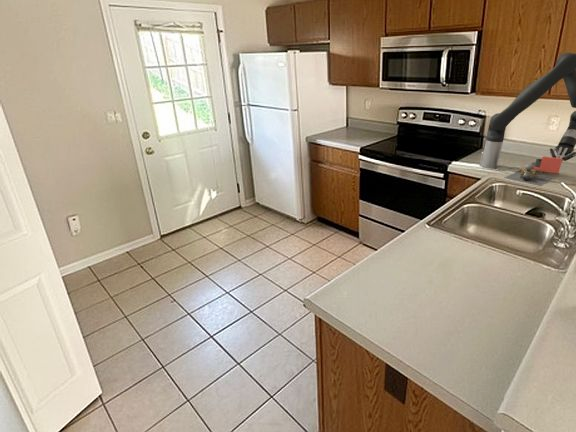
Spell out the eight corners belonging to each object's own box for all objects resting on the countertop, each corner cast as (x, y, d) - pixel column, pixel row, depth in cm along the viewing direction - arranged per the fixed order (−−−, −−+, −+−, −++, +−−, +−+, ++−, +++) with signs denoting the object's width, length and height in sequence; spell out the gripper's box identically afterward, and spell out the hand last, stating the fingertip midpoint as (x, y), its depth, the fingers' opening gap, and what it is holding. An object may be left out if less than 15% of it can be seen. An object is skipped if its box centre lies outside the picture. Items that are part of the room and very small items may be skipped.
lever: (524, 168, 208) (527, 155, 205) (525, 167, 211) (529, 153, 208) (557, 174, 199) (562, 159, 195) (558, 172, 201) (563, 158, 198)
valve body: (519, 180, 206) (521, 171, 204) (520, 173, 218) (522, 165, 216) (532, 182, 203) (535, 173, 201) (532, 174, 215) (535, 166, 213)
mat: (503, 179, 211) (503, 177, 210) (518, 172, 223) (519, 171, 222) (540, 187, 197) (540, 186, 197) (554, 179, 209) (555, 178, 209)
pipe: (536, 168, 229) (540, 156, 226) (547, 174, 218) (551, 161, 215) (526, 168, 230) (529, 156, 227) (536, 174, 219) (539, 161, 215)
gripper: (555, 133, 205) (541, 159, 203) (584, 137, 196) (569, 164, 193) (555, 141, 210) (542, 166, 208) (583, 145, 201) (570, 171, 199)
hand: (555, 165), depth 201 cm, fingers closed
